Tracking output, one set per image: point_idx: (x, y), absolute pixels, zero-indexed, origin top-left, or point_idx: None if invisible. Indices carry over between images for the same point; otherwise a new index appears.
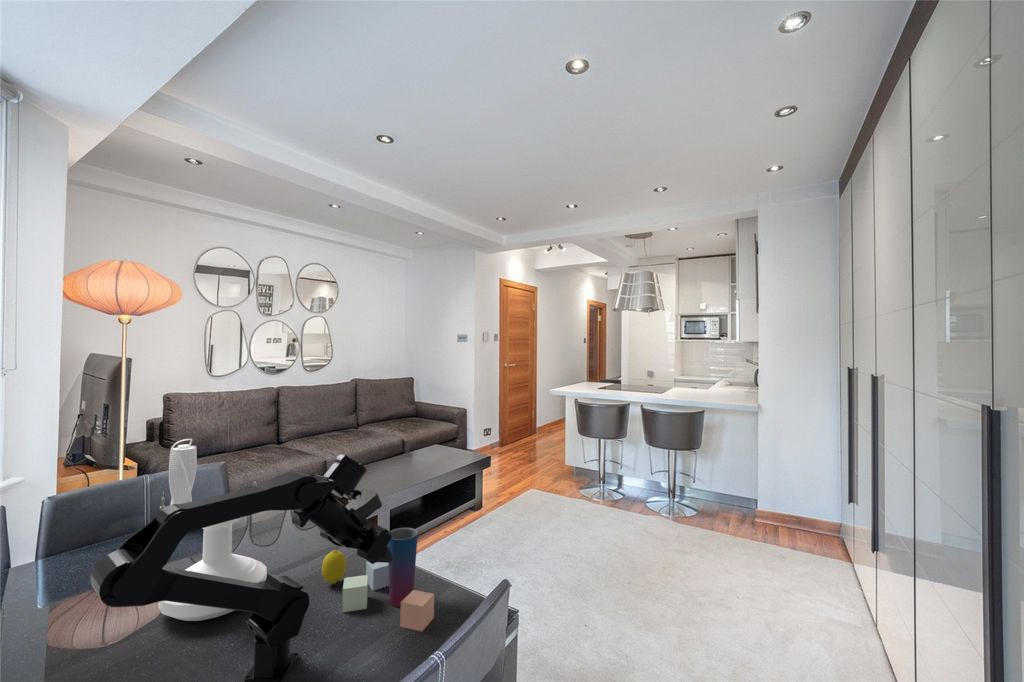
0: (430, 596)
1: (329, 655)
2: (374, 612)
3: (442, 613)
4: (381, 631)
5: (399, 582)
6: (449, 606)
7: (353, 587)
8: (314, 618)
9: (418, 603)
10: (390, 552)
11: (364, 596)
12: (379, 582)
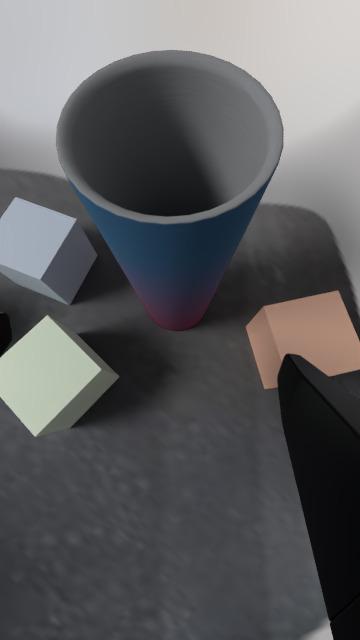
0: (342, 308)
1: (203, 605)
2: (153, 378)
3: (308, 290)
4: (238, 432)
5: (201, 305)
6: (299, 259)
7: (64, 406)
8: (15, 498)
9: (344, 360)
10: (358, 401)
11: (105, 378)
12: (71, 282)
